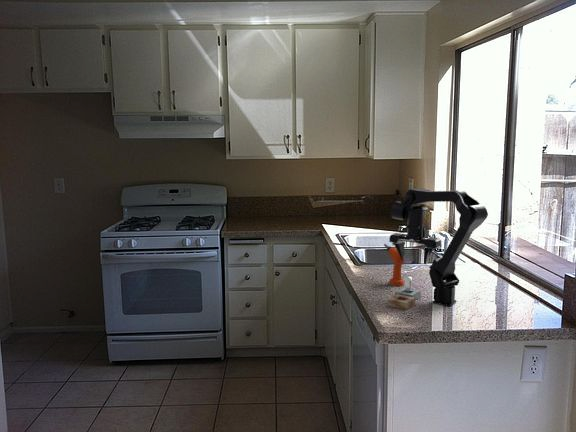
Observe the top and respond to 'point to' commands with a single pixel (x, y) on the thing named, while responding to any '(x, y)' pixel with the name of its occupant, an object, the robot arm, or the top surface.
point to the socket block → (401, 301)
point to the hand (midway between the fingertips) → (414, 262)
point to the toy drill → (395, 266)
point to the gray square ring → (413, 293)
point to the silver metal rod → (408, 284)
